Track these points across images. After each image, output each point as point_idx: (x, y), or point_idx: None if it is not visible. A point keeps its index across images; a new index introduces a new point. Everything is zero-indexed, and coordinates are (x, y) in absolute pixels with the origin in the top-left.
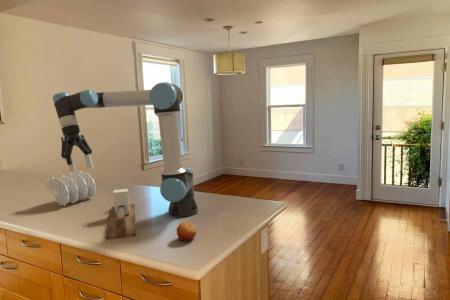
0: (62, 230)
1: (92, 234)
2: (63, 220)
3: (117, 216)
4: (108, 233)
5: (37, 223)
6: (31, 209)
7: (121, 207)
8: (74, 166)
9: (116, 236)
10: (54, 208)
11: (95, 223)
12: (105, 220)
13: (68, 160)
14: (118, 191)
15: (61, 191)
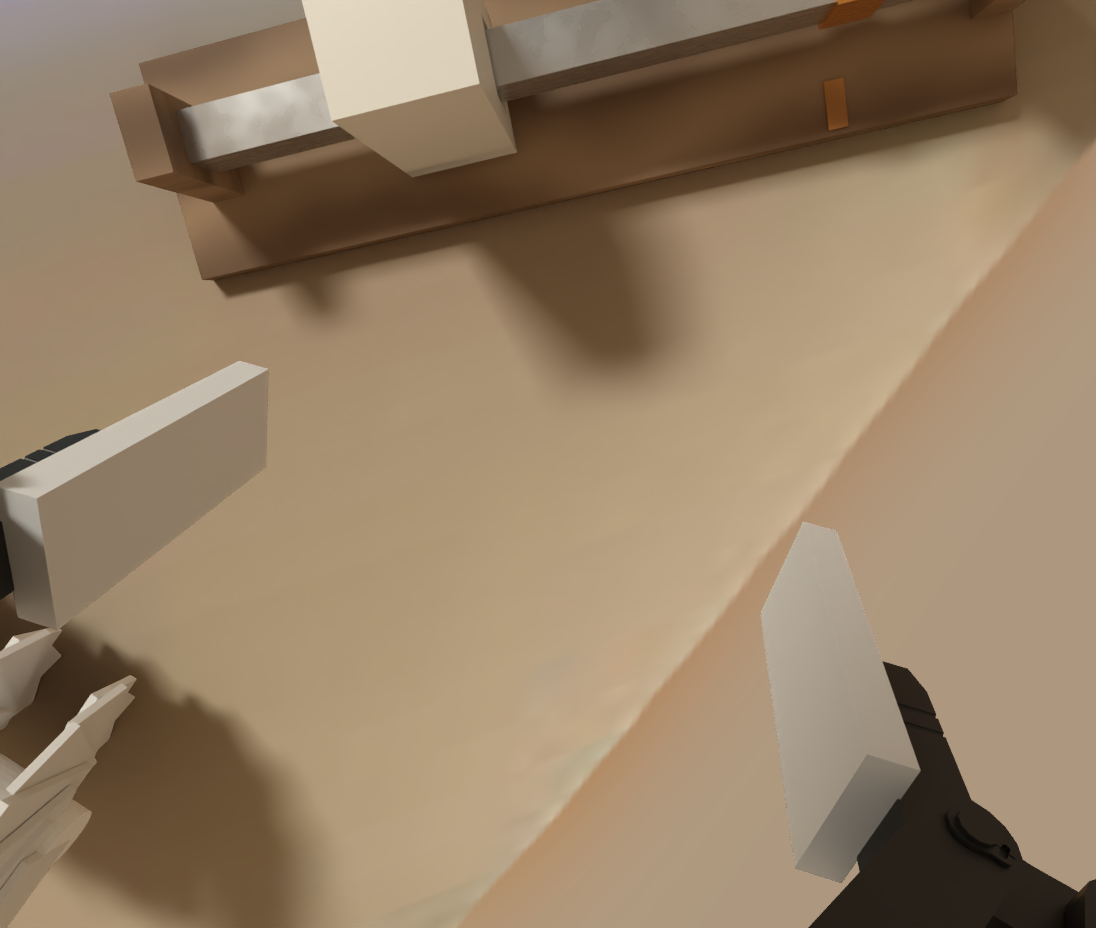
0: (700, 516)
1: (845, 256)
2: (474, 587)
3: (846, 1)
4: (933, 98)
5: (512, 742)
6: (187, 899)
7: (526, 51)
8: (842, 580)
9: (1008, 9)
10: (173, 753)
11: (589, 311)
12: (527, 247)
13: (943, 772)
14: (421, 31)
15: (64, 783)
